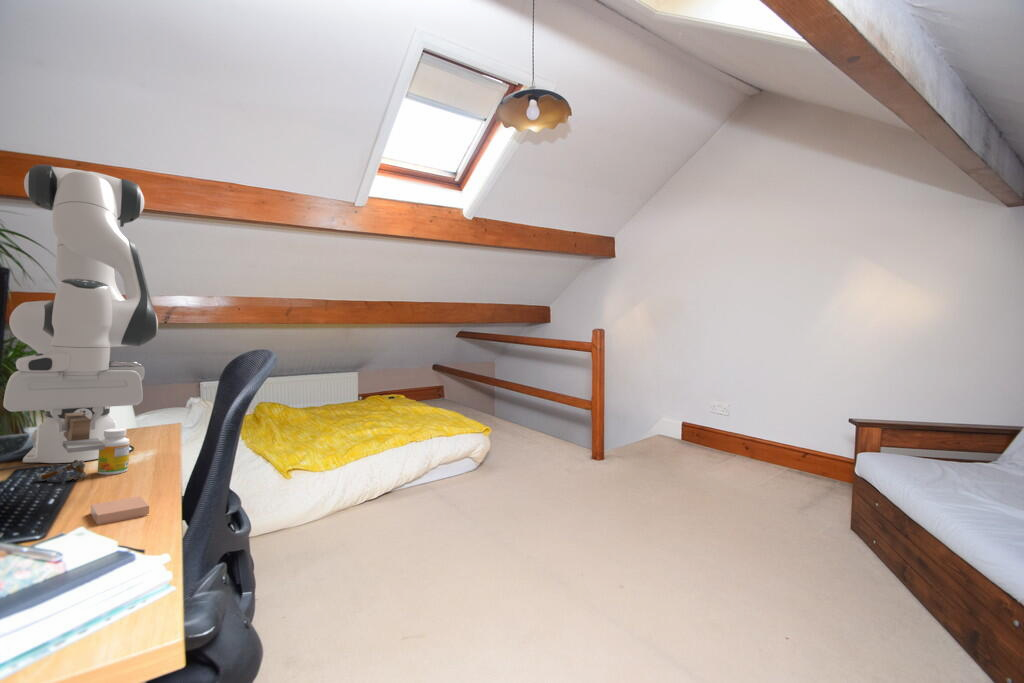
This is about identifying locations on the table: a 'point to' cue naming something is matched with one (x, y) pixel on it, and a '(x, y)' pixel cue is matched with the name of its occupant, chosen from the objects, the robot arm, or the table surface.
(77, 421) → the brown bar with plate
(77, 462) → the wooden post with brackets
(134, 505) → the tile
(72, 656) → the table surface
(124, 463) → the supplement bottle
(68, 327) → the robot arm
